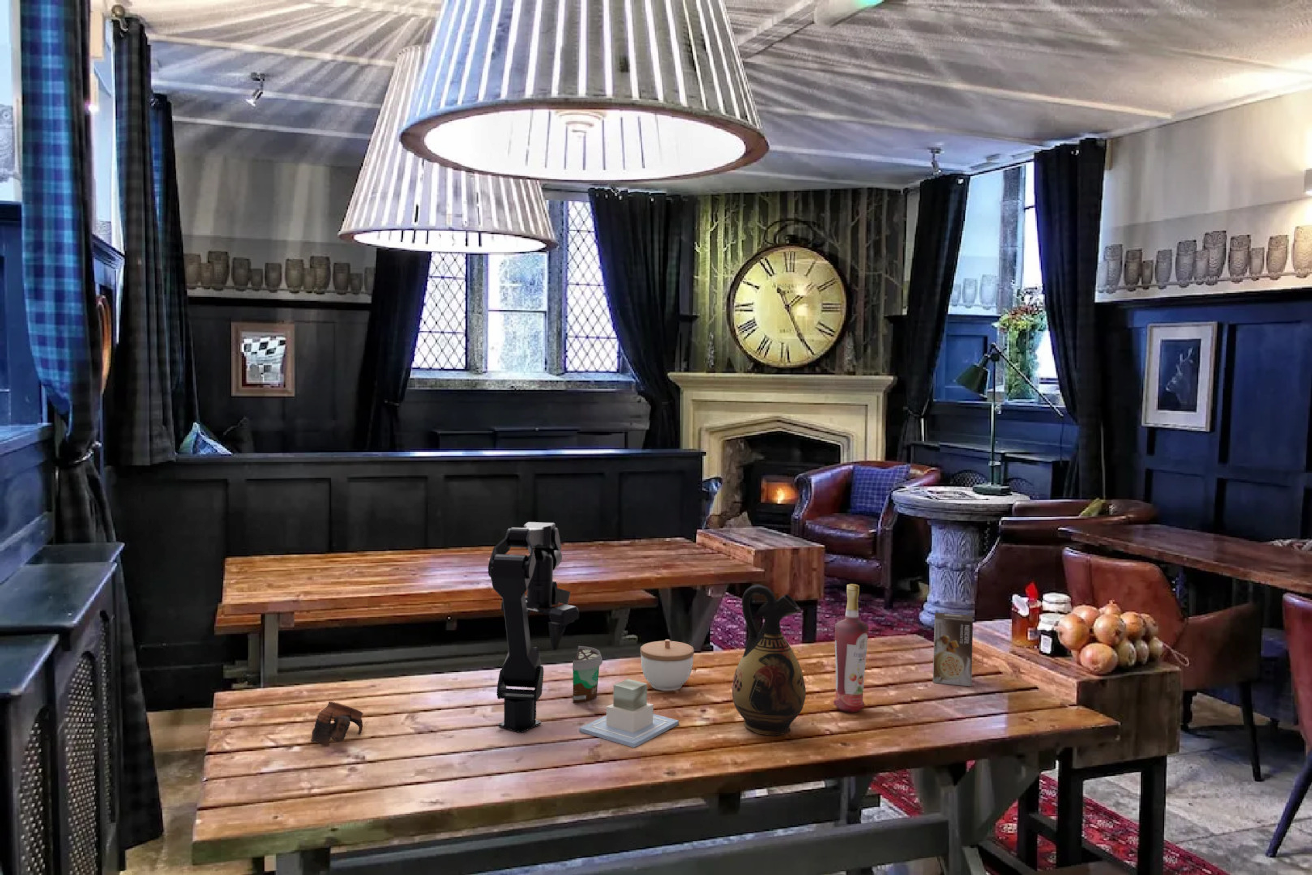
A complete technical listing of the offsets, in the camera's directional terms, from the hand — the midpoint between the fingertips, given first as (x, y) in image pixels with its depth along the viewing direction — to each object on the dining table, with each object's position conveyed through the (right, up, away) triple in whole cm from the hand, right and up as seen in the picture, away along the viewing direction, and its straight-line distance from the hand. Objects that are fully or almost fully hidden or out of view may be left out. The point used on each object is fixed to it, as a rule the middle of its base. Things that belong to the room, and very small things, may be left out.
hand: (539, 646), depth 224 cm
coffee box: (+99, -13, +19) cm, 101 cm away
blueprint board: (+21, -14, -16) cm, 30 cm away
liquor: (+69, -14, -2) cm, 71 cm away
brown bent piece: (-37, -14, -25) cm, 47 cm away
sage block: (+21, -9, -16) cm, 28 cm away
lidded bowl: (+29, -12, +11) cm, 33 cm away
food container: (+11, -12, +3) cm, 17 cm away
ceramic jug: (+49, -14, -14) cm, 53 cm away
